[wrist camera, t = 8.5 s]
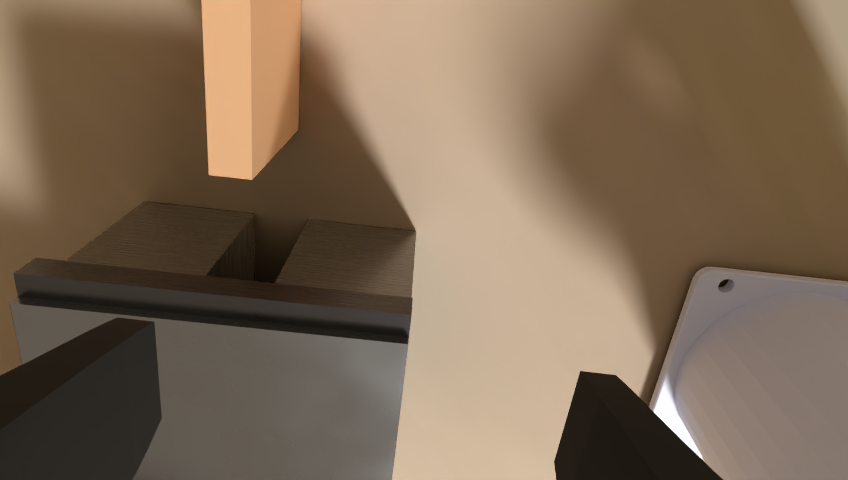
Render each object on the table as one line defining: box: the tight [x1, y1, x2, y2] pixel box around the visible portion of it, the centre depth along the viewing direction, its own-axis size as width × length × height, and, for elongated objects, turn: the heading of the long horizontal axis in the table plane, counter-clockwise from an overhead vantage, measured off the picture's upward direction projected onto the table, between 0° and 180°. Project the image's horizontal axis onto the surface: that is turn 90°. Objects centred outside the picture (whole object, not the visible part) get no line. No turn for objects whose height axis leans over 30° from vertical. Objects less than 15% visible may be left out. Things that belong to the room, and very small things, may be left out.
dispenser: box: [9, 202, 416, 480], centre depth 17 cm, size 9×7×7 cm
